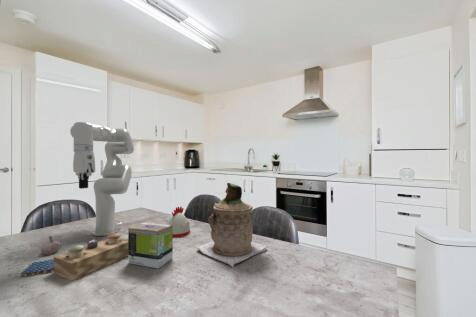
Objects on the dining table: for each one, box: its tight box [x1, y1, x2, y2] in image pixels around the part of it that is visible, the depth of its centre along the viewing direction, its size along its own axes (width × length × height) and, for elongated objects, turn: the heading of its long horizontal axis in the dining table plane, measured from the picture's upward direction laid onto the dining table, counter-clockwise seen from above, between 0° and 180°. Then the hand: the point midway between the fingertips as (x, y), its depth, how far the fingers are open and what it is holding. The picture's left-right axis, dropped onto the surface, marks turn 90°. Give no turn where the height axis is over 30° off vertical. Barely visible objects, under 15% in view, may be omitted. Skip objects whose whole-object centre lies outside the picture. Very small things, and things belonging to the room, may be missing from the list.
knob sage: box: [67, 244, 85, 260], centre depth 84 cm, size 5×5×8 cm
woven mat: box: [19, 258, 54, 278], centre depth 86 cm, size 10×11×2 cm
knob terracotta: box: [106, 232, 121, 245], centre depth 97 cm, size 5×5×8 cm
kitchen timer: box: [166, 206, 191, 238], centre depth 127 cm, size 14×14×15 cm
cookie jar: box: [195, 182, 268, 268], centre depth 102 cm, size 25×25×32 cm
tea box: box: [127, 221, 174, 269], centre depth 92 cm, size 15×10×15 cm
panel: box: [53, 237, 128, 281], centre depth 90 cm, size 24×12×6 cm, turn 154°
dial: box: [86, 239, 99, 249], centre depth 91 cm, size 4×4×3 cm
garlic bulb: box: [40, 235, 61, 256], centre depth 100 cm, size 8×7×8 cm
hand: (83, 188), depth 103 cm, fingers closed
